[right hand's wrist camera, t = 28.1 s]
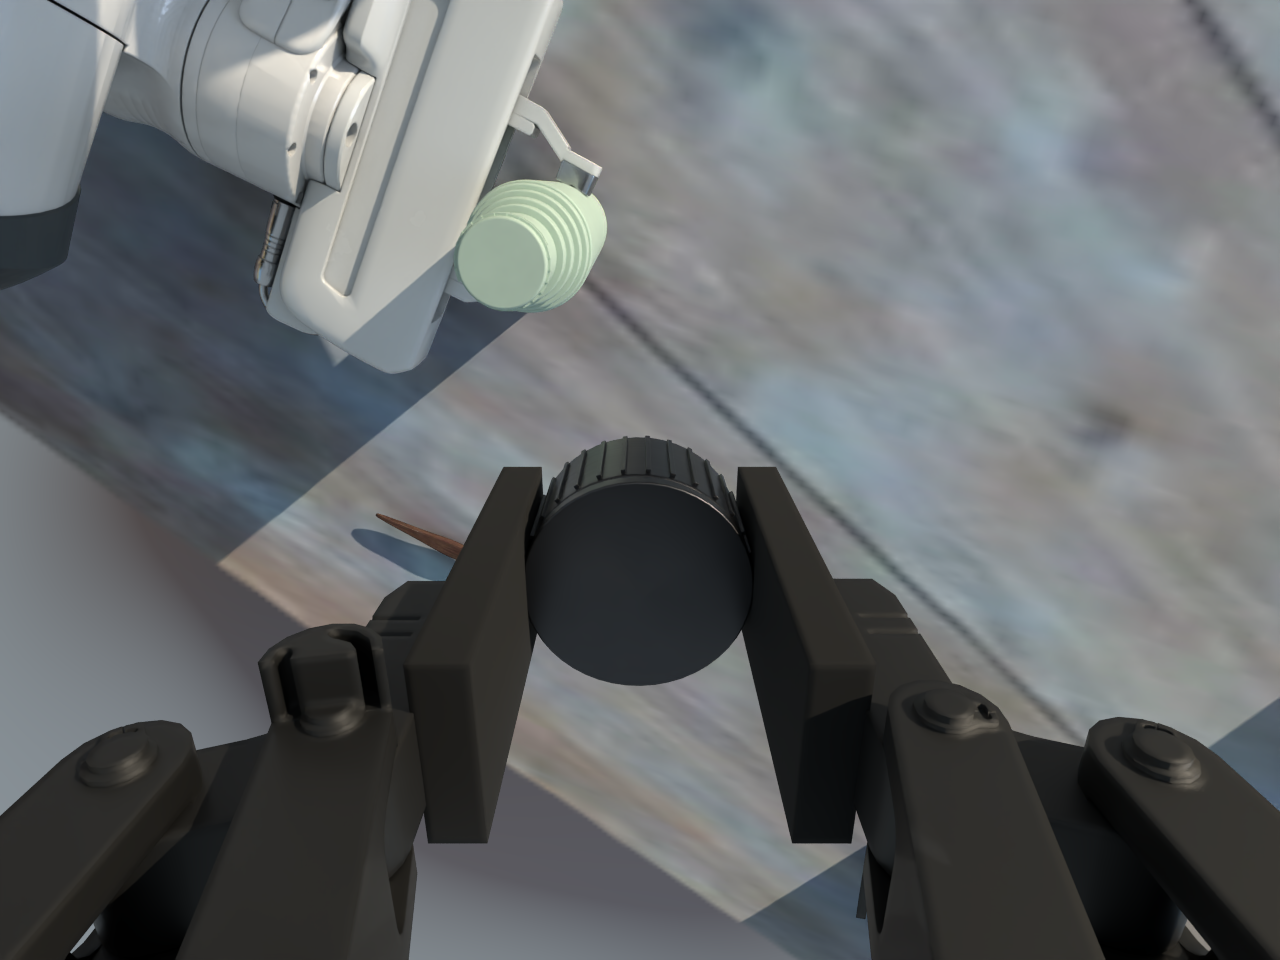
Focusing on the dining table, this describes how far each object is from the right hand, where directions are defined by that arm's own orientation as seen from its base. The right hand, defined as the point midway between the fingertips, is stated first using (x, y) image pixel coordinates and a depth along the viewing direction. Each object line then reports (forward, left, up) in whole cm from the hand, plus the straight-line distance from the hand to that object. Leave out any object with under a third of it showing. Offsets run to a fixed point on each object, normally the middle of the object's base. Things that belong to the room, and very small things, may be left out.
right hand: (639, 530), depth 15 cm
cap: (0, 0, +2) cm, 2 cm away
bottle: (+3, +5, -32) cm, 32 cm away
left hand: (+3, +4, -25) cm, 26 cm away
